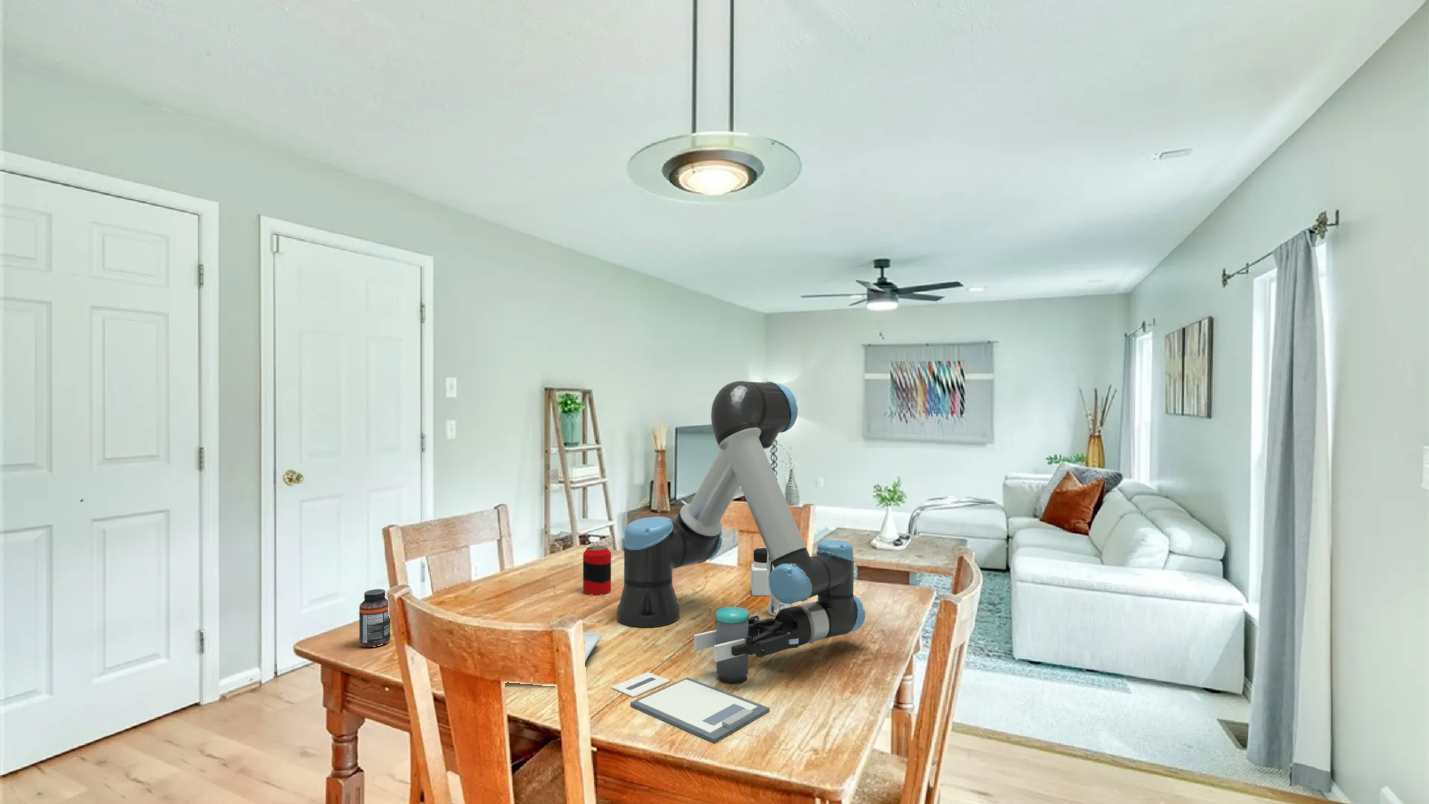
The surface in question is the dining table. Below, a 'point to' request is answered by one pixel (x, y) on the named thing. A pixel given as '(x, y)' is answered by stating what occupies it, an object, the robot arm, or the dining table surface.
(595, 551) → the soda can
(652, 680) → the word card
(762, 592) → the medicine bottle
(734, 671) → the grey teal cylinder
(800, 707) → the dining table surface
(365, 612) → the supplement bottle
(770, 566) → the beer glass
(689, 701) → the clipboard
